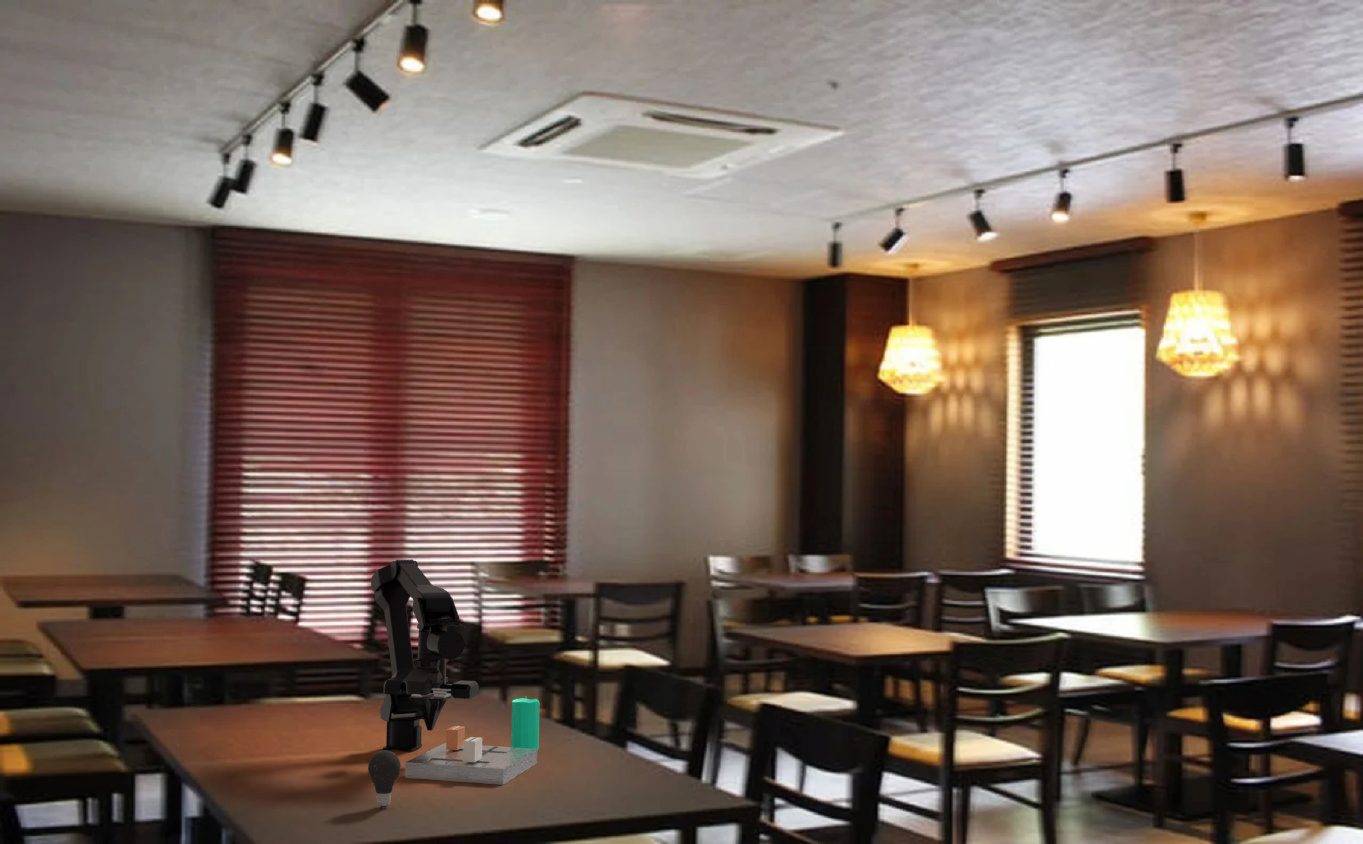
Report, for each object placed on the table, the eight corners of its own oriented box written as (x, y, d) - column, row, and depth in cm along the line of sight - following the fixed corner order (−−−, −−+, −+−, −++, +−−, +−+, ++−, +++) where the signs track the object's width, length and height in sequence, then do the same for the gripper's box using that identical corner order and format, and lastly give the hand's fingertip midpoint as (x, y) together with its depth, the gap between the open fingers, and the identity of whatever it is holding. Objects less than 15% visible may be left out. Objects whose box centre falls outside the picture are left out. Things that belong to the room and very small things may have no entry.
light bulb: (369, 804, 251) (370, 747, 252) (401, 803, 252) (402, 747, 252) (365, 811, 246) (366, 753, 246) (397, 811, 246) (399, 753, 247)
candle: (534, 753, 298) (535, 696, 299) (506, 751, 300) (508, 694, 300) (542, 747, 304) (543, 691, 305) (515, 746, 306) (517, 690, 306)
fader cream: (462, 776, 273) (463, 740, 273) (470, 771, 277) (470, 736, 277) (474, 776, 272) (475, 741, 272) (481, 772, 276) (482, 737, 276)
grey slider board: (405, 778, 273) (405, 761, 273) (444, 757, 292) (445, 742, 292) (503, 784, 268) (503, 768, 268) (536, 763, 288) (536, 748, 288)
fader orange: (445, 763, 284) (446, 729, 284) (453, 759, 288) (454, 725, 288) (457, 764, 284) (457, 729, 284) (464, 760, 288) (465, 726, 288)
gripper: (372, 656, 282) (370, 734, 282) (460, 661, 278) (458, 740, 277) (395, 649, 293) (393, 724, 292) (480, 653, 289) (478, 730, 288)
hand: (430, 730), depth 287 cm, fingers closed
